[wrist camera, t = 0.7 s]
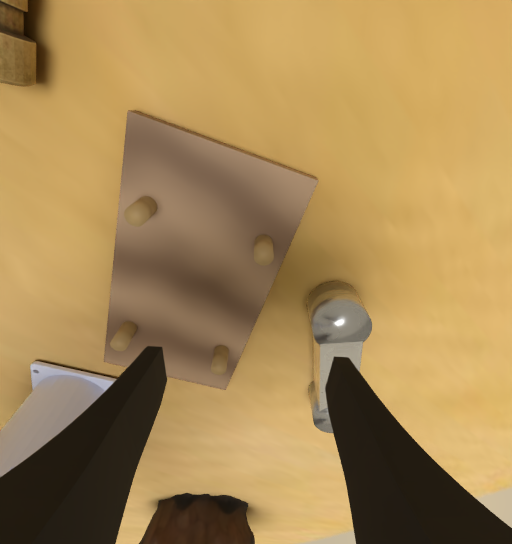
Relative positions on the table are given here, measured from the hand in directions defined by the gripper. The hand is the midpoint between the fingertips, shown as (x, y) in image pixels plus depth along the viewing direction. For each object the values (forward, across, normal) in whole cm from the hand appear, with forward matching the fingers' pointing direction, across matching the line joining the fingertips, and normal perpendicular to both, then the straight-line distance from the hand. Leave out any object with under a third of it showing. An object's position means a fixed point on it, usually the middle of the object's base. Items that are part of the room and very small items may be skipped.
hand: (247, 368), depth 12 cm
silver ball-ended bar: (+10, -7, +8) cm, 15 cm away
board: (+10, +4, +2) cm, 11 cm away
